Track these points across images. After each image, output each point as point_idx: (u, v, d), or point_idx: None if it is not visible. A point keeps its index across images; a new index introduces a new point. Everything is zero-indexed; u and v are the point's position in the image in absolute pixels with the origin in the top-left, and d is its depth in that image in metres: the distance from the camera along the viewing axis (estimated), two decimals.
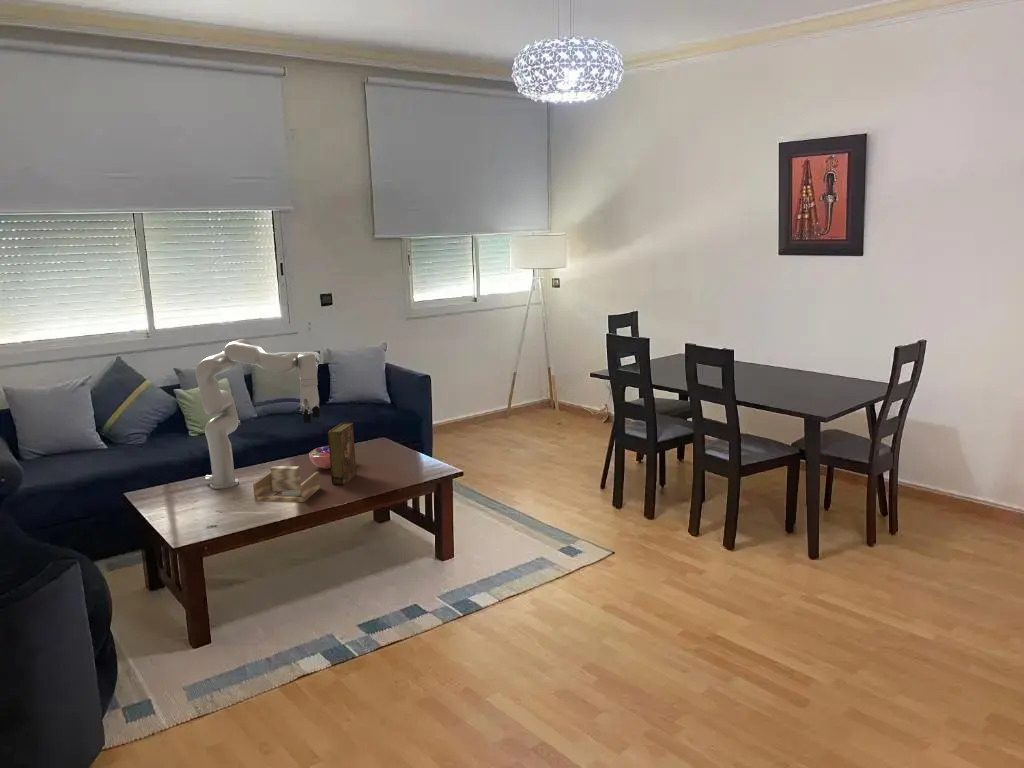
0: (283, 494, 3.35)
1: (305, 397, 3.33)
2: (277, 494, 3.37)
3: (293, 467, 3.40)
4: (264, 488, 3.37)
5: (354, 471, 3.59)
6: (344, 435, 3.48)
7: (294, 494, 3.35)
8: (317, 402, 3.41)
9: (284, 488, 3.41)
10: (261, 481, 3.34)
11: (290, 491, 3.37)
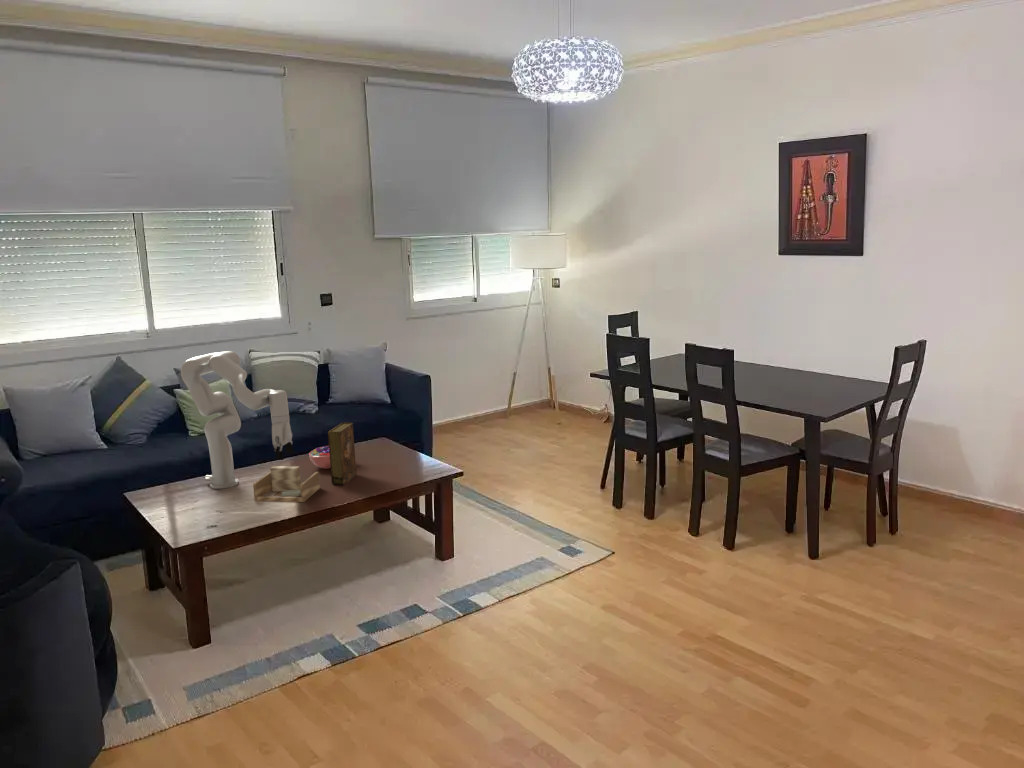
0: (283, 494, 3.35)
1: (277, 434, 3.32)
2: (277, 494, 3.37)
3: (293, 467, 3.40)
4: (264, 488, 3.37)
5: (354, 471, 3.59)
6: (344, 435, 3.48)
7: (294, 494, 3.35)
8: (290, 438, 3.40)
9: (284, 488, 3.41)
10: (261, 481, 3.34)
11: (290, 491, 3.37)
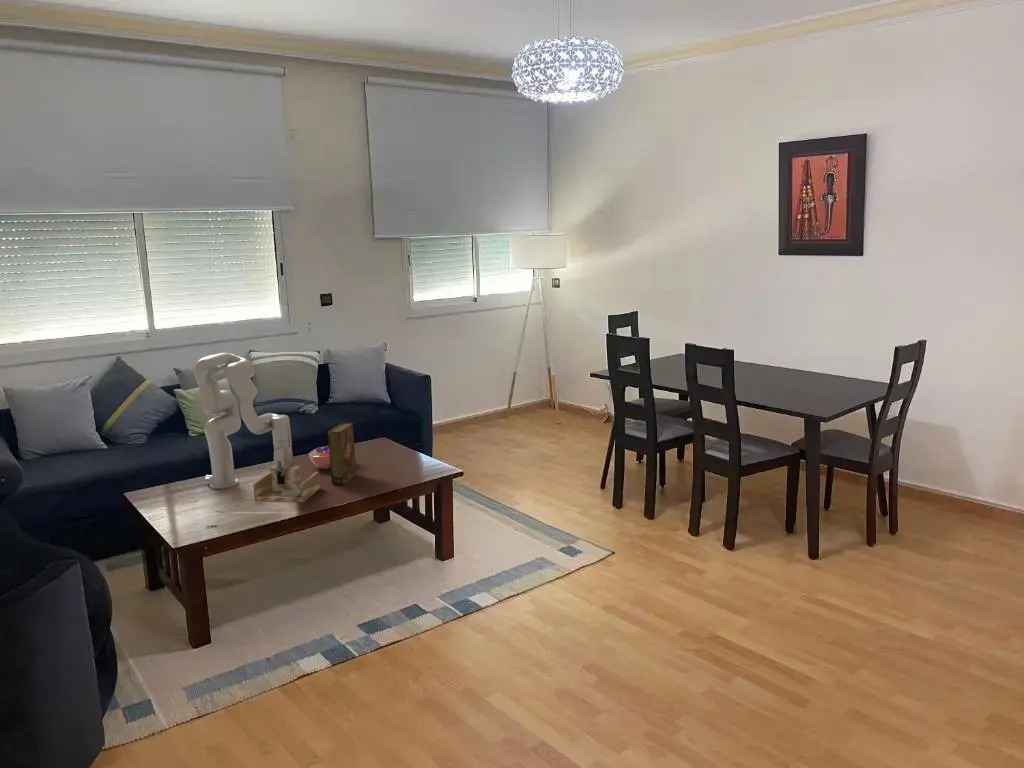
0: (282, 494, 3.35)
1: (279, 459, 3.35)
2: (277, 494, 3.37)
3: (293, 467, 3.40)
4: (264, 488, 3.37)
5: (354, 471, 3.59)
6: (344, 435, 3.48)
7: (293, 494, 3.35)
8: (291, 463, 3.43)
9: (284, 488, 3.41)
10: (261, 481, 3.34)
11: (289, 491, 3.37)
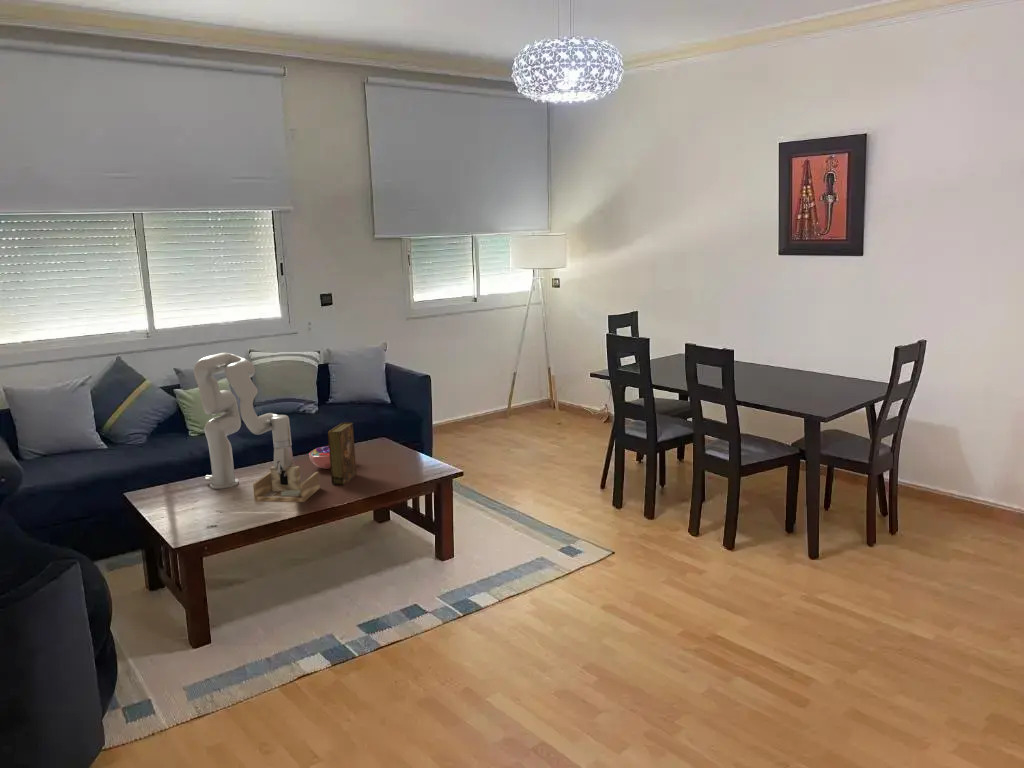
0: (282, 494, 3.35)
1: (278, 459, 3.35)
2: (277, 494, 3.37)
3: (293, 467, 3.40)
4: (264, 488, 3.37)
5: (354, 471, 3.59)
6: (344, 435, 3.48)
7: (293, 494, 3.35)
8: (291, 463, 3.43)
9: (284, 488, 3.41)
10: (261, 481, 3.34)
11: (289, 491, 3.37)
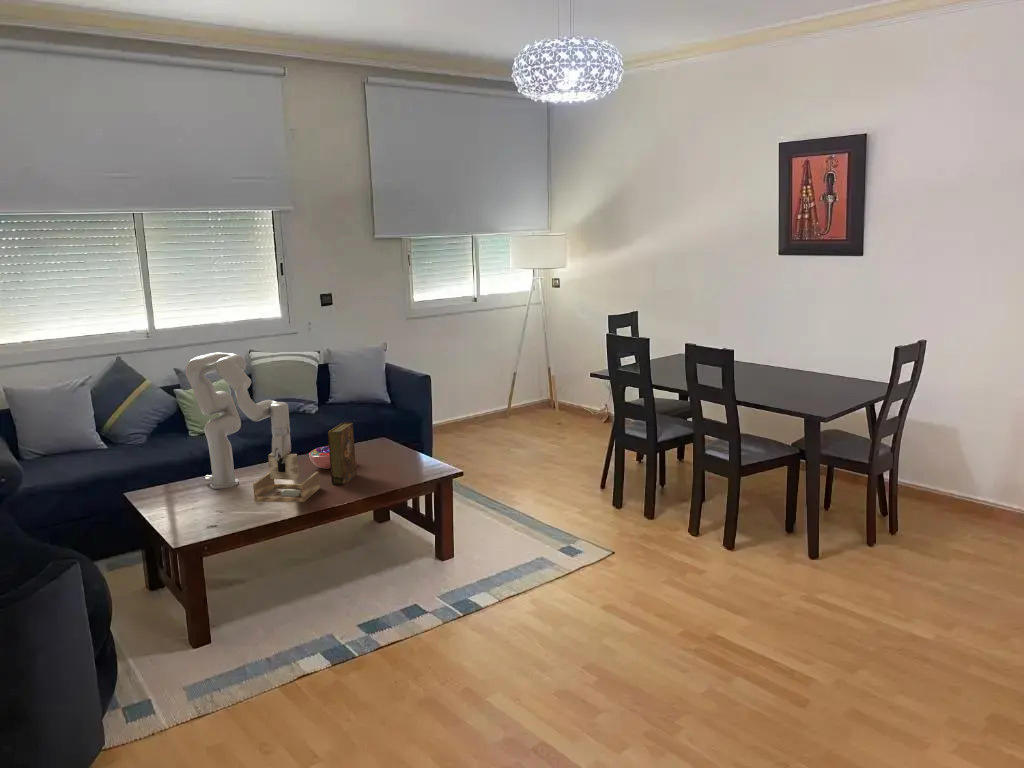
0: (282, 494, 3.35)
1: (277, 446, 3.34)
2: (277, 494, 3.37)
3: (291, 454, 3.39)
4: (264, 488, 3.37)
5: (354, 471, 3.59)
6: (344, 435, 3.48)
7: (293, 494, 3.35)
8: (289, 450, 3.42)
9: (281, 475, 3.40)
10: (261, 481, 3.34)
11: (289, 491, 3.37)
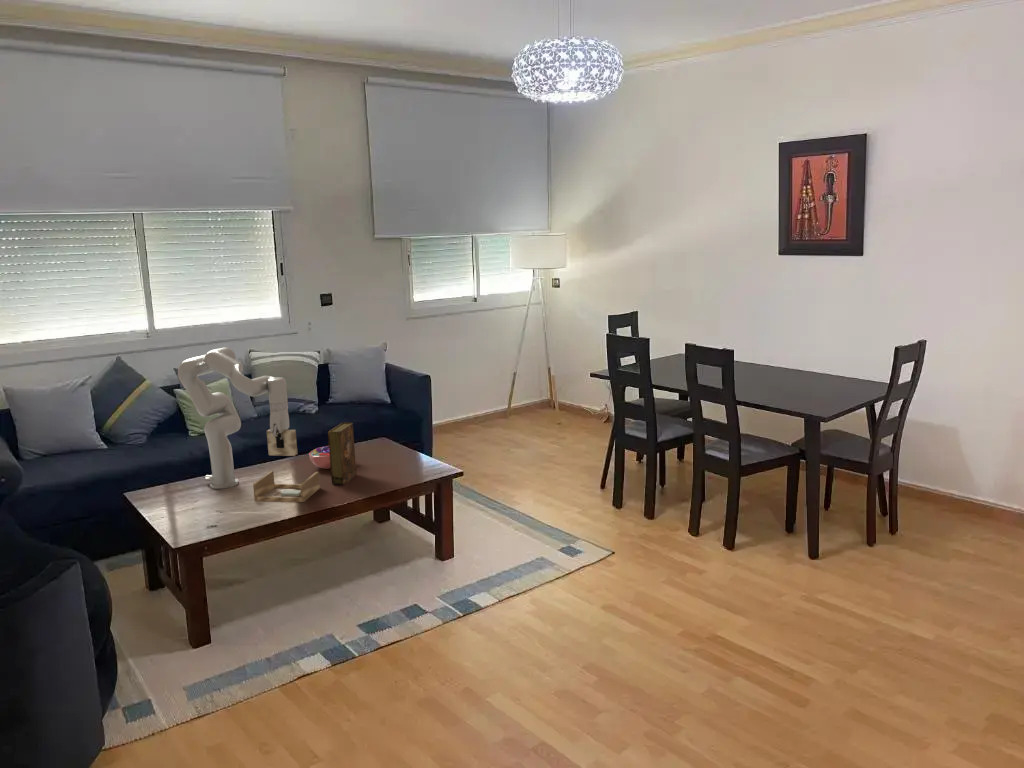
0: (282, 494, 3.35)
1: (275, 421, 3.31)
2: (277, 494, 3.37)
3: (290, 430, 3.37)
4: (264, 488, 3.37)
5: (354, 471, 3.59)
6: (344, 435, 3.48)
7: (293, 494, 3.35)
8: (287, 426, 3.39)
9: (280, 451, 3.38)
10: (261, 481, 3.34)
11: (289, 491, 3.37)
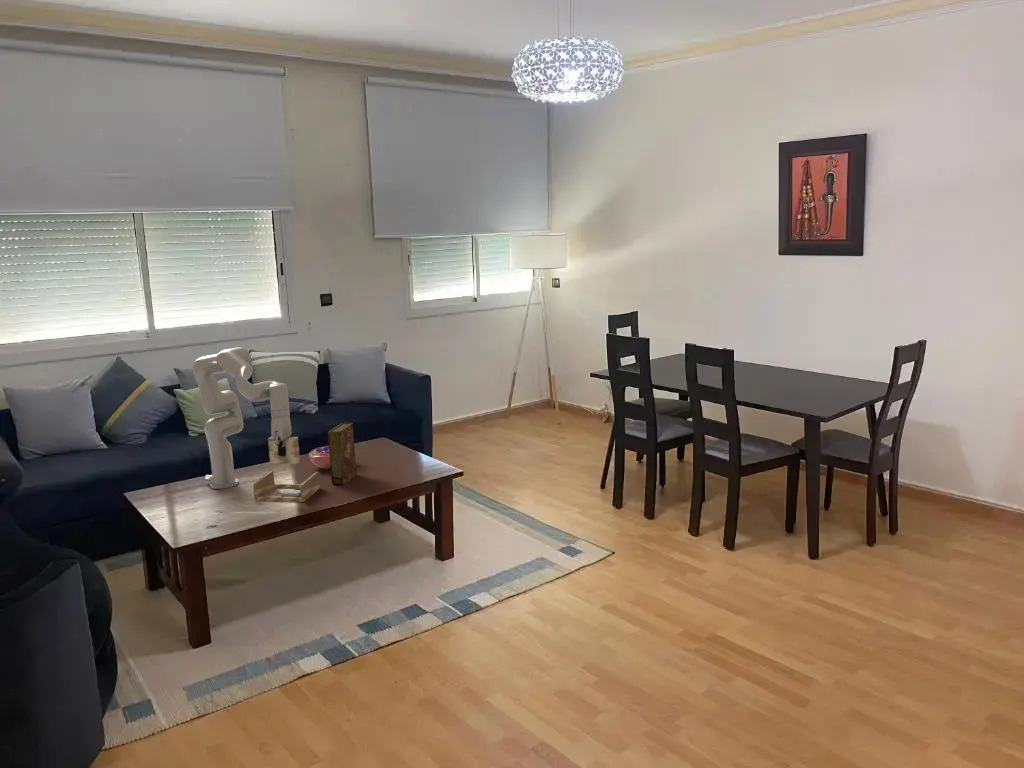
0: (282, 494, 3.35)
1: (276, 429, 3.20)
2: (277, 494, 3.37)
3: (292, 437, 3.25)
4: (264, 488, 3.37)
5: (354, 471, 3.59)
6: (344, 435, 3.48)
7: (292, 494, 3.35)
8: (289, 433, 3.28)
9: (282, 459, 3.26)
10: (261, 481, 3.34)
11: (289, 491, 3.37)
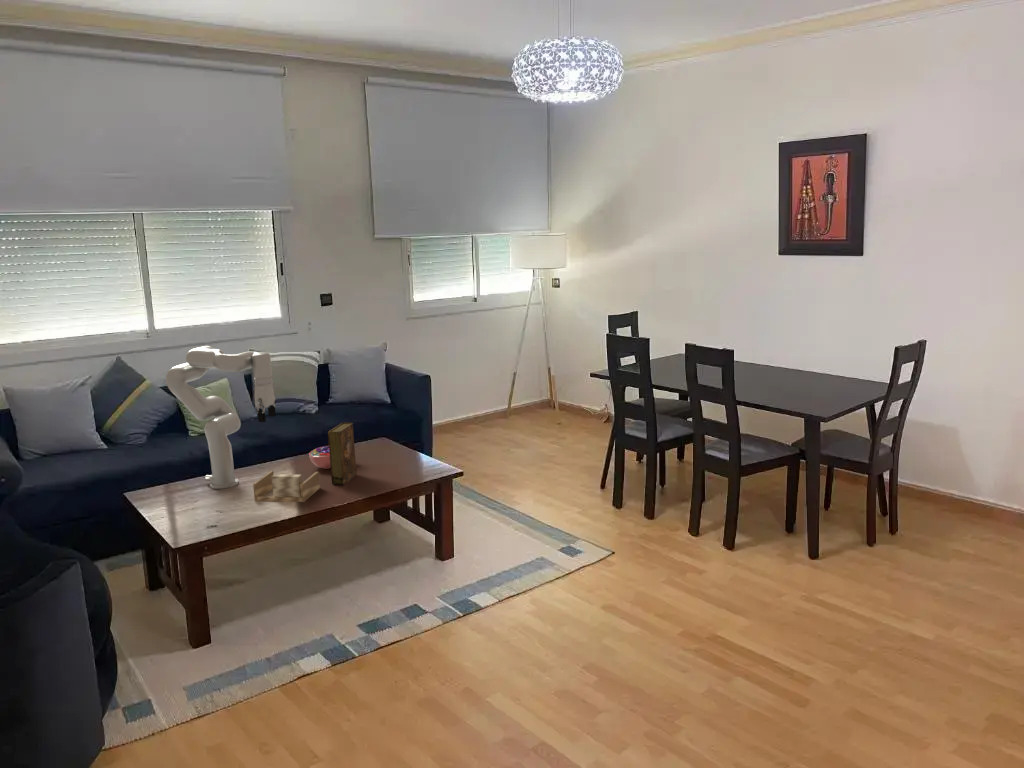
0: None
1: (259, 396, 3.32)
2: None
3: (295, 475, 3.29)
4: (264, 488, 3.37)
5: (354, 471, 3.59)
6: (344, 435, 3.48)
7: None
8: (273, 401, 3.40)
9: None
10: (261, 481, 3.34)
11: None
